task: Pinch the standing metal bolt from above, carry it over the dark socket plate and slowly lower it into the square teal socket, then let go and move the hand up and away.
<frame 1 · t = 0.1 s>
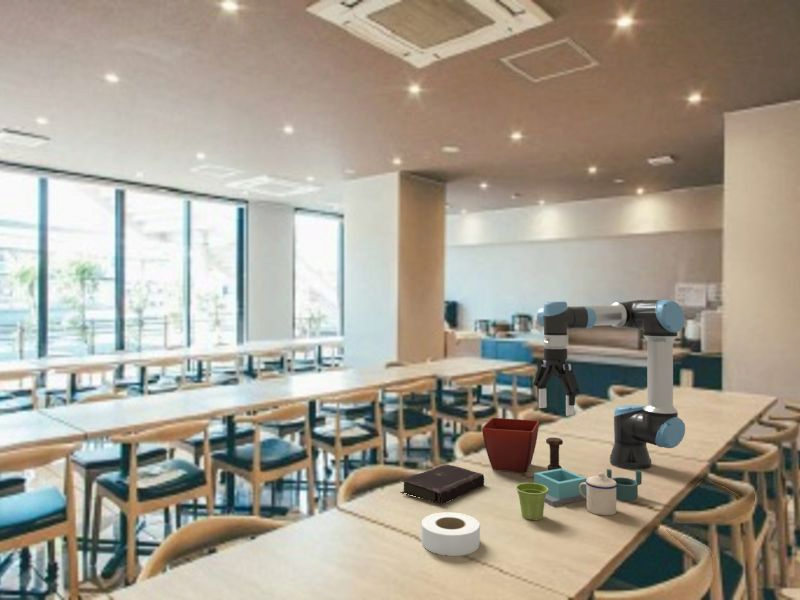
hand: (555, 411, 183), 28 cm above the table, tool pointing down, fingers open, 13 cm apart
diary: (442, 490, 189), on the table
bolt: (554, 481, 197), on the table
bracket: (623, 497, 181), on the table
plant pot: (511, 467, 213), on the table
teacup with lid: (597, 509, 170), on the table
plant pot 2: (532, 517, 165), on the table
socket: (560, 495, 183), on the table
roll of tape: (450, 543, 148), on the table
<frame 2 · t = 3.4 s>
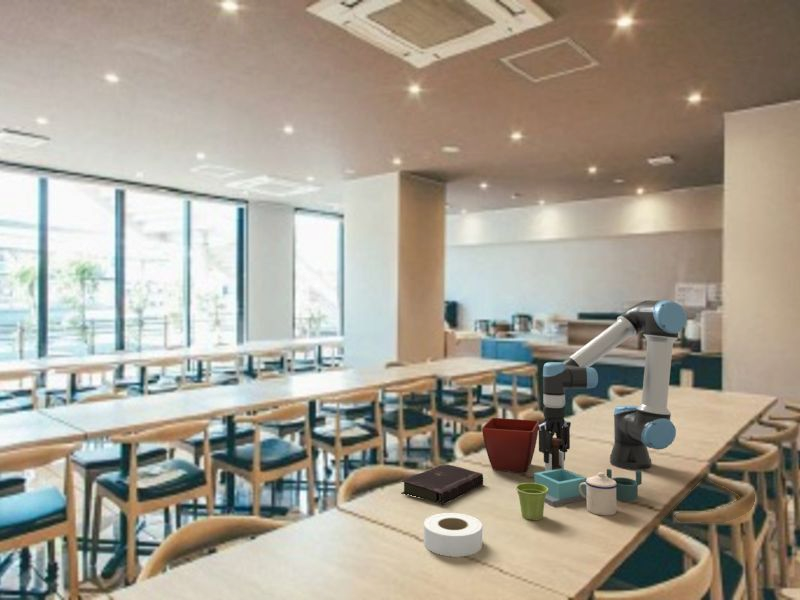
hand: (554, 470, 197), 4 cm above the table, tool pointing down, fingers closed on bolt, 5 cm apart
bolt: (554, 481, 197), on the table, touching gripper
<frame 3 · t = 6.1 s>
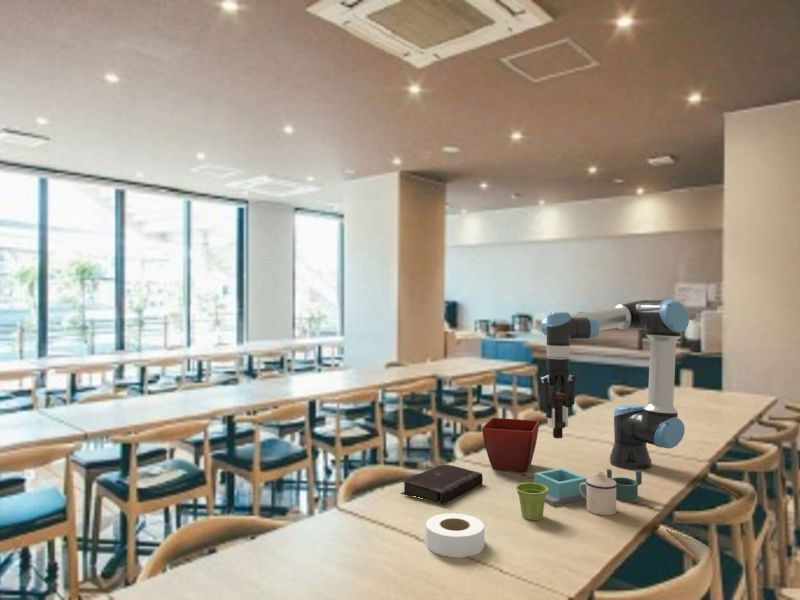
hand: (557, 426, 185), 22 cm above the table, tool pointing down, fingers closed on bolt, 5 cm apart
bolt: (557, 438, 185), point 18 cm above the table, touching gripper
when the fingers open (8 cm above the table, at t = 9.0 s): bolt drops 3 cm, resting on socket.
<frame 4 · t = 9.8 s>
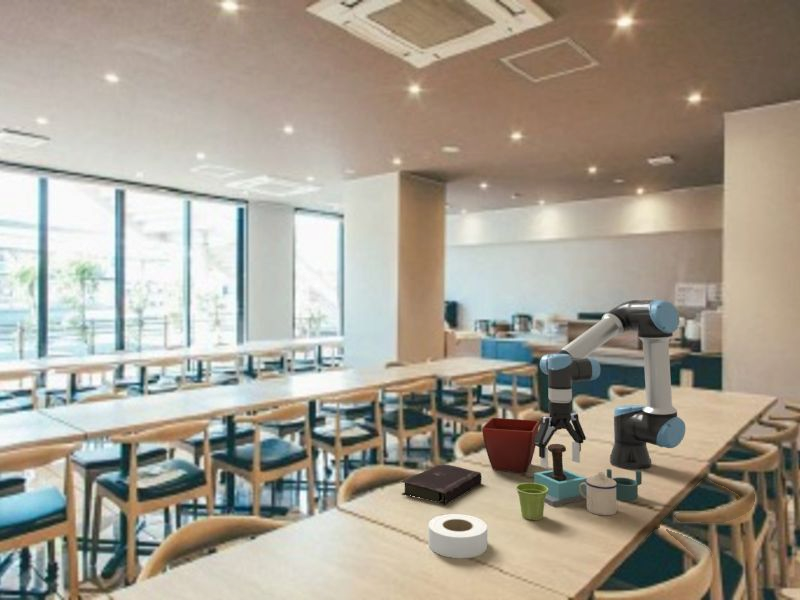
hand: (560, 464, 183), 10 cm above the table, tool pointing down, fingers open, 13 cm apart
bolt: (559, 491, 182), point 1 cm above the table, touching socket
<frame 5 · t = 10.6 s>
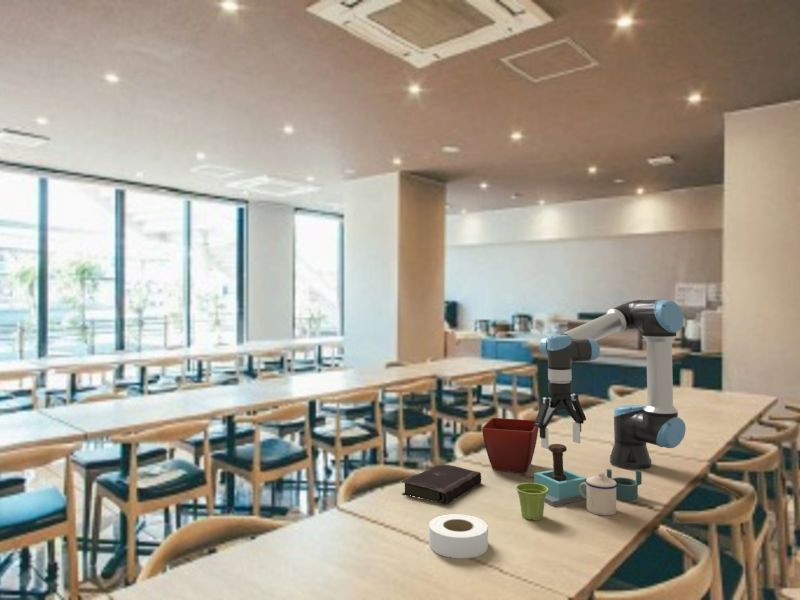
hand: (561, 445, 183), 17 cm above the table, tool pointing down, fingers open, 13 cm apart
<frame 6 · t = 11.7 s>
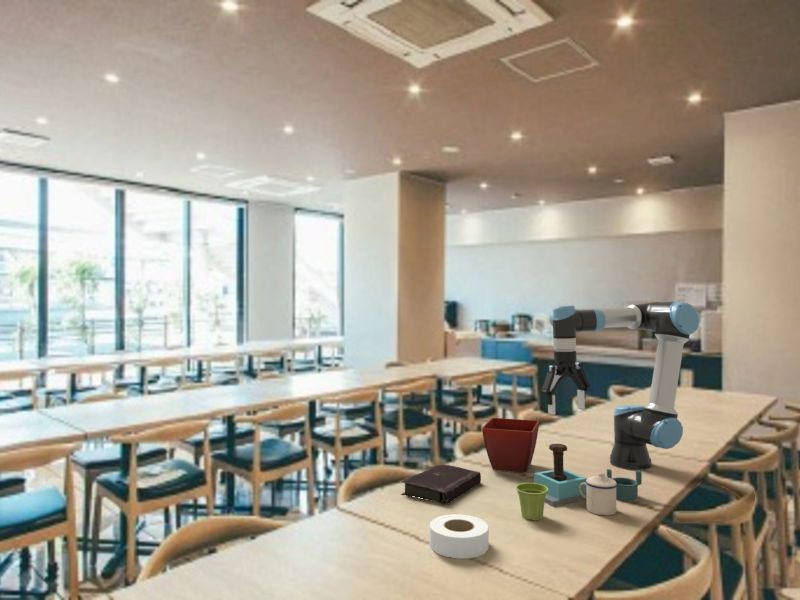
hand: (566, 411, 190), 26 cm above the table, tool pointing down, fingers open, 13 cm apart
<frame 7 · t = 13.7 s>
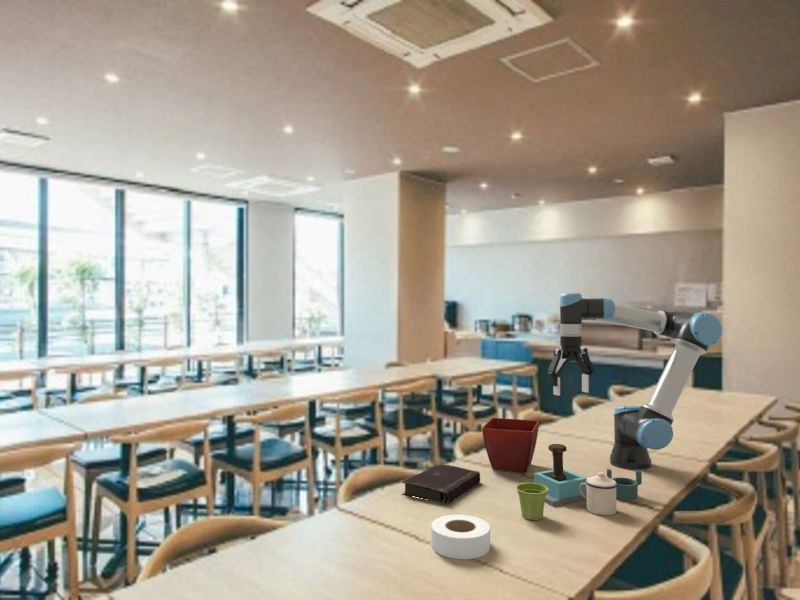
hand: (571, 393, 200), 31 cm above the table, tool pointing down, fingers open, 13 cm apart
at the end: bolt 0.6 cm off-centre on the socket, point 1.4 cm above the socket's base; bolt tilted 2°; the gripper is holding nothing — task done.
